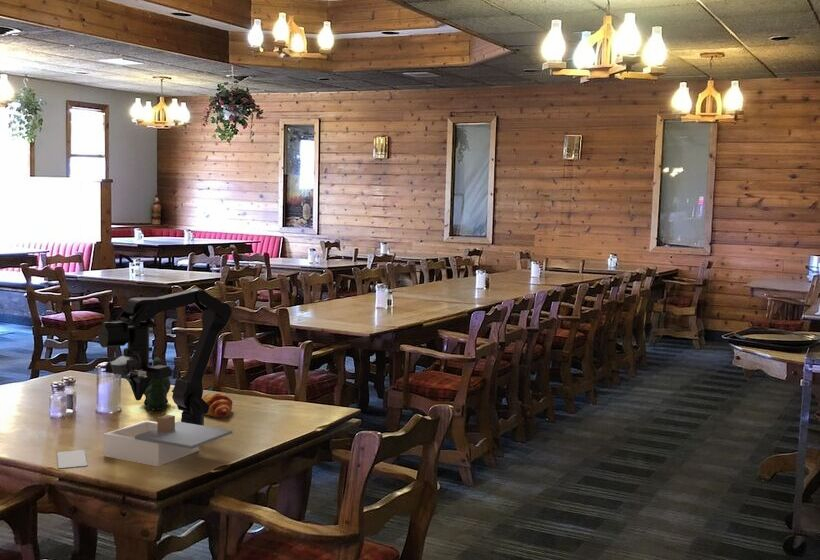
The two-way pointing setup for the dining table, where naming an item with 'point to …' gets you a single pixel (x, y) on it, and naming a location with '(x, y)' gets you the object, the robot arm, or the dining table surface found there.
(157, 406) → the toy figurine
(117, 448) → the lidded box
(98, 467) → the dining table surface
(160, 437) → the lid
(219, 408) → the croissant
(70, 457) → the smartphone
